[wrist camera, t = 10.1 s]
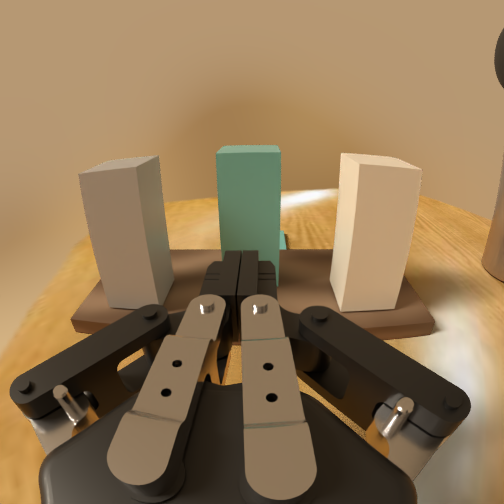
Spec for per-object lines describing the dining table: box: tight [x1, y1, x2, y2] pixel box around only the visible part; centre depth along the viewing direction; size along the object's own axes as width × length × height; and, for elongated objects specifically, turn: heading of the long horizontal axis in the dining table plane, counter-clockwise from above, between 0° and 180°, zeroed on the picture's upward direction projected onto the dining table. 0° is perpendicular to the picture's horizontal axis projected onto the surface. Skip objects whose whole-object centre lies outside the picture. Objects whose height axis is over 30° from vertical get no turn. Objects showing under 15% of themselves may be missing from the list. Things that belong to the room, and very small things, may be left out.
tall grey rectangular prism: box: [78, 155, 174, 309], centre depth 24 cm, size 5×5×12 cm
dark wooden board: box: [71, 249, 435, 345], centre depth 29 cm, size 14×32×2 cm, turn 89°
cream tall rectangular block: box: [330, 153, 422, 312], centre depth 23 cm, size 5×5×12 cm
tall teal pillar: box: [216, 145, 281, 286], centre depth 27 cm, size 5×5×12 cm
